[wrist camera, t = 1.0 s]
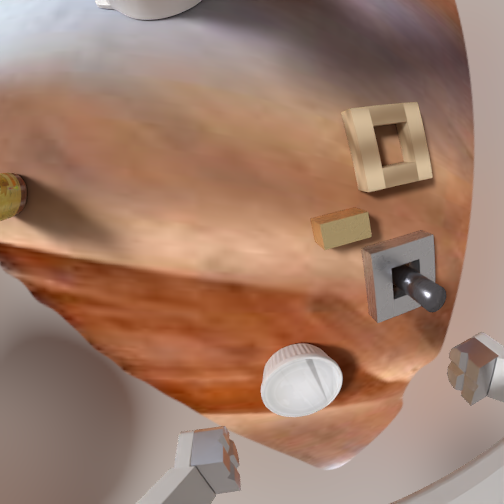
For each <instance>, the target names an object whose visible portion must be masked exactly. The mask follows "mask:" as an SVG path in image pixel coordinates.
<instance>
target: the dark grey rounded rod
mask: <svg viewBox="0 0 504 504" xmlns="http://www.w3.org/2000/svg"><path fill="white" fill-rule="evenodd" d="M391 270H392V283H393V284H394V285H395V286H396V287H398V288H399V289H400V290H402V291H403V292H404V293H406V294H407V295H408V296H410V297H411V298H412V299H413V300H415V301H416V302H417V303H419V304H420V305H421V306H422V307H424V308H425V309H426V310H427V311H429V312H436V311H438V310H439V309H440V308H441V307H442V306H443V304H444V302H445V299H446V291H445V289H444V288H443V287H441V286H439V285H438V284H436V283H435V282H433V281H431V280H430V279H428V278H427V277H425V276H423V275H422V274H420V273H418V272H417V271H415V270H414V269H412V268H410V267H409V266H407V265H405V264H403V265H400V266H397V267H394V268H391Z"/></svg>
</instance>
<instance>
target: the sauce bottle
mask: <svg viewBox="0 0 504 504" xmlns="http://www.w3.org/2000/svg"><path fill="white" fill-rule="evenodd" d="M26 200H27V188H26V184H25V182H24V181H23V179H22V178H21V177H20V176H18V175H17V174H14V173H0V221H2V220H5V219H8V218H11V217H13V216H14V215H17V214H18V213H20V212H21V211H22V210H23V208H24V206H25V204H26Z"/></svg>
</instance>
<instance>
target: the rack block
mask: <svg viewBox="0 0 504 504" xmlns="http://www.w3.org/2000/svg"><path fill="white" fill-rule="evenodd" d="M341 115H342V119H343V122H344V126H345V130H346V134H347V139H348V143H349V147H350V151H351V156H352V160H353V165H354V170H355V175H356V179H357V185H358V190H360V191H365V192H372V191H376V190H381V189H385V188H389V187H394V186H398V185H402V184H407V183H411V182H416V181H420V180H425V179H429V178H433V176H432V170H431V163H430V158H429V152H428V147H427V142H426V137H425V132H424V127H423V123H422V119H421V114H420V110H419V106H418V102H409V103H396V104H385V105H375V106H366V107H358V108H350V109H348V110H346V111H343V112H341ZM390 124H396V127H397V132H398V136H399V141H400V145H401V150H402V155H403V160H404V162H400V163H395V164H390V165H384V166H382V165H381V160H380V155H379V150H378V145H377V141H376V137H375V132H374V128H373V127H375V126H382V125H390Z"/></svg>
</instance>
